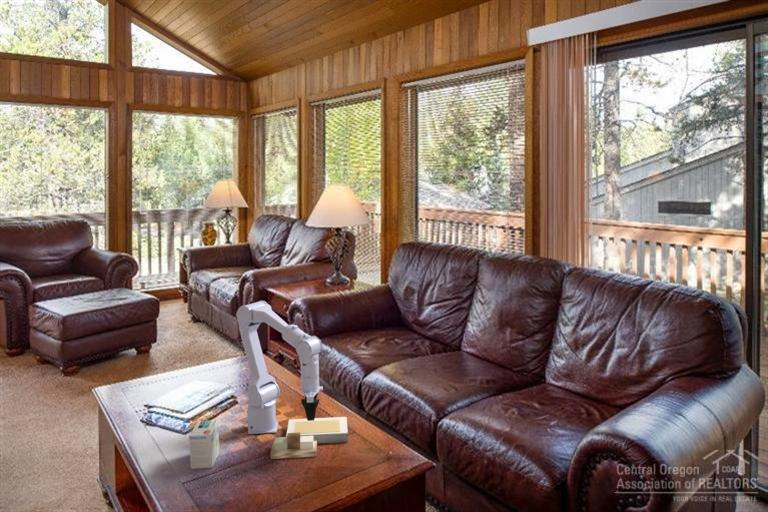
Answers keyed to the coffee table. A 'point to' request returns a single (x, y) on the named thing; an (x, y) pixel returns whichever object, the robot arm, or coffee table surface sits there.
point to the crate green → (280, 443)
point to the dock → (321, 429)
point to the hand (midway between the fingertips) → (311, 415)
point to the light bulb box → (204, 444)
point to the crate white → (306, 442)
